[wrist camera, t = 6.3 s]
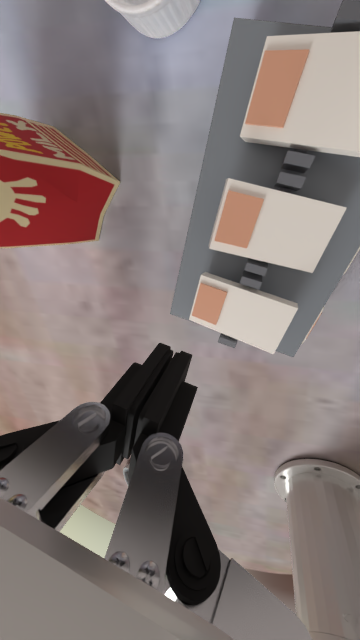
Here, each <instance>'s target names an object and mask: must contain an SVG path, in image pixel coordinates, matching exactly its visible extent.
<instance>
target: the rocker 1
mask: <svg viewBox="0 0 360 640" xmlns="http://www.w3.org/2000/svg"><path fill="white" fill-rule="evenodd" d="M297 310H298V303H295V302H292V301H289V300H286V299H283V298H280V297H277V296H274V295H272V294H269V293H266V292H263V291H260V290H257V289H254V288H251V287H248V286H245V285H242V284H239V283H236V282H233V281H231V280H228V279H225V278H222V277H219V276H216V275H213V274H210V273H207V272H204V273H203V274H201V276H200V280H199V284H198V288H197V291H196V295H195V299H194V303H193V306H192V310H191V314H190V317H189V320H191V321H193V322H196V323H198V324H200V325H203V326H205V327H208V328H210V329H213V330H215V331H218V332H220V333H222V334H225V335H227V336H230V337H232V338H235V339H237V340H240V341H242V342H244V343H247V344H249V345H252V346H254V347H257V348H259V349H261V350H264V351H266V352H269V353H271V354H274V353H275V351H276V349H277V347H278V345H279V343H280V341H281V340H282V338H283V336H284V334H285V332H286V330H287V328H288V327H289V325H290V323H291V321H292V319H293V317H294V315H295V313H296V312H297Z"/></svg>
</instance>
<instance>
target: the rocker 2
mask: <svg viewBox="0 0 360 640" xmlns="http://www.w3.org/2000/svg"><path fill="white" fill-rule="evenodd" d="M240 137H241V138H242V139H243V140H244V141H245V142H249V143H257V144H264V145H272V146H279V147H287V148H294V149H302V150H309V151H317V152H324V153H332V154H339V155H347V156H354V157H360V31H355V32H336V33H318V34H299V35H280V36H267V38H266V41H265V45H264V49H263V52H262V56H261V60H260V64H259V67H258V71H257V75H256V78H255V82H254V86H253V89H252V93H251V97H250V100H249V104H248V108H247V111H246V115H245V119H244V122H243V126H242V130H241V134H240Z"/></svg>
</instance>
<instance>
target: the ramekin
mask: <svg viewBox="0 0 360 640" xmlns="http://www.w3.org/2000/svg"><path fill="white" fill-rule="evenodd" d="M105 1H106V2H107V3H108V4H109V5H110V6H111V7H112V8H113V9H115V10H116V11H117V12H119V13H121V14H122V16H123V17H124V18H125V19H126V20H127V21H128V22H129V23H130V24H131V25H132V26H133V27H134V28H135V29H136V30H138V31H139V32H140V33H142V34H144V35H145V36H147V37H150V38H156V39H159V38H165V37H167V36H170V35H172V34H174V33H175V32H177V31H178V30H180V29H181V28H182V27H183V26H184V25H185V24H186V23H187V22H188V20H189V19H190V18H191V16H192V15H193V14H194V12H195V10H196V9H197V7H198V5H199V3H200V1H201V0H105Z"/></svg>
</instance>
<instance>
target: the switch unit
mask: <svg viewBox="0 0 360 640" xmlns="http://www.w3.org/2000/svg"><path fill="white" fill-rule="evenodd" d="M355 31H360V0H343V1H342V4H341V6H340V9H339V12H338V14H337V17H336V19H335V22H334V24H333V27H322V26H311V25H301V24H291V23H281V22H271V21H261V20H251V19H241V18H234V21H233V25H232V30H231V34H230V39H229V44H228V48H227V53H226V58H225V62H224V67H223V72H222V76H221V81H220V85H219V90H218V95H217V99H216V104H215V109H214V113H213V118H212V122H211V127H210V132H209V136H208V141H207V146H206V150H205V155H204V159H203V164H202V169H201V173H200V178H199V183H198V187H197V192H196V196H195V201H194V206H193V210H192V215H191V220H190V224H189V229H188V233H187V238H186V243H185V247H184V252H183V257H182V261H181V266H180V270H179V275H178V280H177V284H176V289H175V294H174V298H173V303H172V307H171V312H170V314H172V315H175V316H178V317H181V318H183V319H186V320H189V317H190V314H191V310H192V306H193V303H194V299H195V295H196V291H197V288H198V284H199V280H200V276H201V274H203V273H204V272H207V273H210V274H213V275H216V276H219V277H222V278H225V279H228V280H231V281H233V282H236V283H239V284H242V285H245V286H248V287H251V288H254V289H257V290H260V291H263V292H266V293H269V294H272V295H274V296H277V297H280V298H283V299H286V300H289V301H292V302H295V303H298V310H297V312H296V313H295V315H294V317H293V319H292V321H291V323H290V325H289V327H288V328H287V330H286V332H285V334H284V336H283V338H282V340H281V341H280V343H279V345H278V347H277V349H276V351H277V352H280V353H283V354H286V355H288V356H291V357H294V355H295V354H296V352H297V350H298V349H299V347H300V345H301V344H303V342H304V341H305V339H306V338H307V337H308V335H309V333H310V332H311V330H312V328H313V327H314V325H315V323H316V322H317V320H318V319H319V317H320V315H321V314H322V311H323V309H324V305H325V304H326V302H327V300H328V299H329V297H330V295H331V294H332V292H333V290H334V289H335V287H336V285H337V284H338V282H339V280H340V279H341V277H342V275H343V274H345V272H346V271H347V269H348V268H349V266H350V264H351V263H352V261H353V259H354V258H355V256H356V254H357V253H358V251H359V249H360V157H354V156H347V155H339V154H332V153H324V152H317V151H309V150H302V149H294V148H287V147H279V146H272V145H264V144H257V143H249V142H245V141H244V140H243V139H242V138H241V137H240V134H241V130H242V126H243V122H244V119H245V115H246V111H247V108H248V104H249V100H250V97H251V93H252V89H253V86H254V82H255V78H256V75H257V71H258V67H259V64H260V60H261V56H262V52H263V49H264V45H265V41H266V38H267V36H280V35H299V34H318V33H336V32H355ZM228 178H230V179H234V180H238V181H242V182H246V183H250V184H254V185H258V186H262V187H266V188H270V189H274V190H278V191H282V192H286V193H290V194H294V195H298V196H302V197H306V198H310V199H314V200H318V201H322V202H326V203H330V204H334V205H338V206H342V207H346V208H347V209H346V211H345V212H344V214H343V216H342V218H341V220H340V222H339V224H338V226H337V228H336V230H335V231H334V233H333V235H332V237H331V239H330V241H329V243H328V245H327V247H326V249H325V250H324V252H323V254H322V256H321V258H320V260H319V262H318V264H317V266H316V268H315V269H314V271H313V273H310V272H306V271H302V270H297V269H293V268H289V267H285V266H280V265H276V264H272V263H268V262H264V261H259V260H255V259H251V258H247V257H242V256H238V255H234V254H230V253H225V252H221V251H217V250H213V249H209V242H210V238H211V235H212V231H213V227H214V223H215V220H216V216H217V212H218V209H219V205H220V201H221V197H222V194H223V190H224V186H225V182H226V179H228ZM189 321H191V320H189ZM192 322H193V321H192ZM195 323H196V322H195ZM218 342H219V343H221V344H224V345H227V346H230V347H233V348H235V346H236V344H237V339H235V338H232V337H230V336H227V335H225V334H222V333H221V334H220V337H219V340H218Z"/></svg>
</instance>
